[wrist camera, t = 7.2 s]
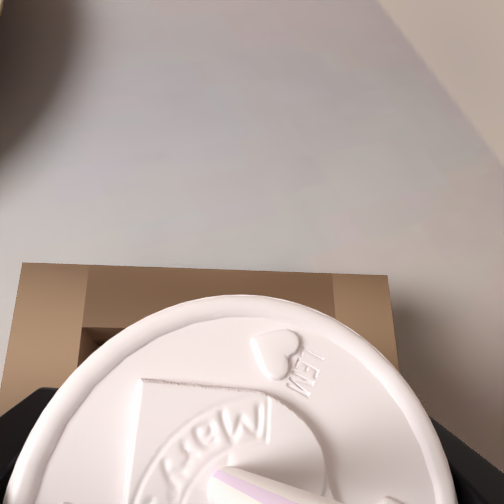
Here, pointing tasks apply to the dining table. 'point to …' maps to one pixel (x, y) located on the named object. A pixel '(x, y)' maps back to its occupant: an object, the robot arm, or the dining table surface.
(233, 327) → the smoothie
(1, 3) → the plant saucer
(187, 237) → the dining table surface
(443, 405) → the dining table surface
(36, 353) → the caddy
